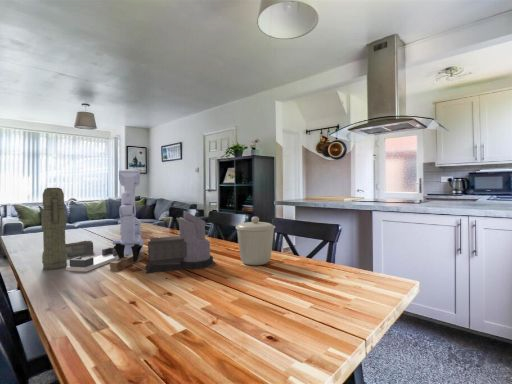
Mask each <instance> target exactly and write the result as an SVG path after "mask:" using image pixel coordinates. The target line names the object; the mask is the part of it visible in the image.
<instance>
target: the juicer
mask: <svg viewBox="0 0 512 384" xmlns="http://www.w3.org/2000/svg"><path fill="white" fill-rule="evenodd" d="M178 220H179V223H178V225H179V227H178V228H179V235H178V236H177V235H175V236H165V237H164V236H163V237H151V238H149V241H147V253H148V255H147V257H148V263H147V264H146V265H145V274H146V275H147V274H156V273H164V272H173V271H181V270H186V271H187V270H188V271H190V270H192V271H193V270H194V271H195V269H196V270H202V269H206V268H213V267H215V266H216V265H217V264H216V263H217V262H216V261H215V260H214V257H213V255H211V242H210V240H208V239H206V221H205V220H203V219H201V218H199V217H197V216H195V215H193V214H191V213H190V212H188V211H185V210H183V217H181V216H180V217H179V219H178ZM215 262H216V263H215ZM215 264H216V265H215ZM212 266H213V267H212Z"/></svg>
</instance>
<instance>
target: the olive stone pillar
mask: <svg viewBox="0 0 512 384" xmlns="http://www.w3.org/2000/svg"><path fill="white" fill-rule="evenodd" d="M64 205H65V194H64V191H63V188H60V187H46V188H44V190H43V192H42V206H43V209H42V214H41V216H40V217H41V220H40V221H41V229H42V235H43V252H42V257H41V259H42V262H41V263H42V265H43V266H42V269H43V270H44V271H52V270H53V271H55V270H60V269H62V268H63V269H64V268H66V267H67V266H68V257H67V250H66V244H67V243H66V227H67V214H66V211H65V206H64Z"/></svg>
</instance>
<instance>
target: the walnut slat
mask: <svg viewBox="0 0 512 384" xmlns="http://www.w3.org/2000/svg"><path fill="white" fill-rule="evenodd" d="M144 259H146V258H145V251H143V252H140V253H139V256H138V260H137V261H135V262H134V261H133V254H131V255H125V257H123V258H121V259H118V260H115V261H112V262H110V263H109V269H110V270H109V271H119V270H121V269H124V268H125V267H127V266H128V267H129V266H130V265H133V264H135V263H137V262H139V261H142V260H144Z"/></svg>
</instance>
